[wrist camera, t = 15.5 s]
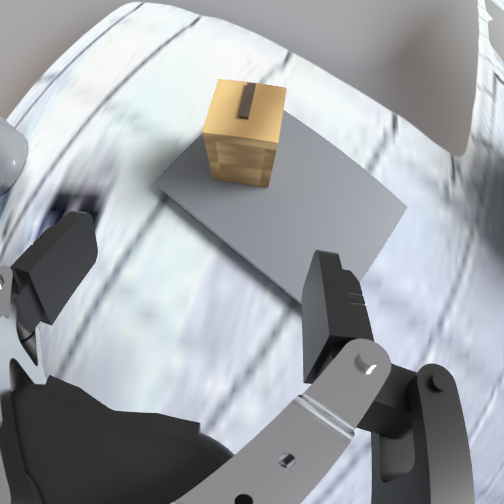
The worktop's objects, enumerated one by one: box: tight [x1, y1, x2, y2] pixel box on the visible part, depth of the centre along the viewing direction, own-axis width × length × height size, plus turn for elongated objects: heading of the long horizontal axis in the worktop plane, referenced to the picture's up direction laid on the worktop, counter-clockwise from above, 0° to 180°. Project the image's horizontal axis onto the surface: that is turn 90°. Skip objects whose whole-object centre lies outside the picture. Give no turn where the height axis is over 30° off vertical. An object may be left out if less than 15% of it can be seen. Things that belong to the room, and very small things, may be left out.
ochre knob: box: [202, 79, 286, 188], centre depth 22 cm, size 5×5×8 cm
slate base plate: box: [155, 110, 407, 305], centre depth 27 cm, size 20×14×2 cm
